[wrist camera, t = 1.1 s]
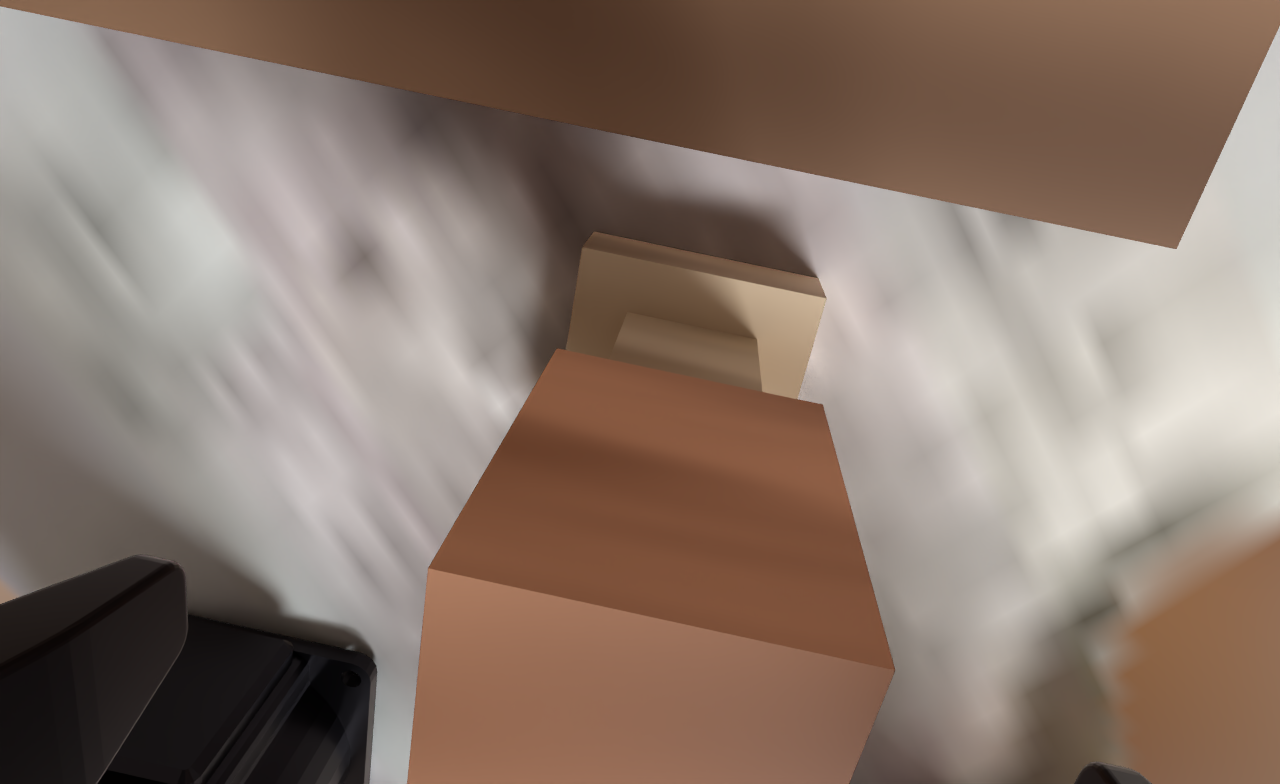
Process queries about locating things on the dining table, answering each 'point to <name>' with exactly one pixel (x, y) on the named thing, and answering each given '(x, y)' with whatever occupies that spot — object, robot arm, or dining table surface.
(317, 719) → the robot arm
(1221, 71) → the keyhole plate
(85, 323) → the dining table surface
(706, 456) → the copper peg
